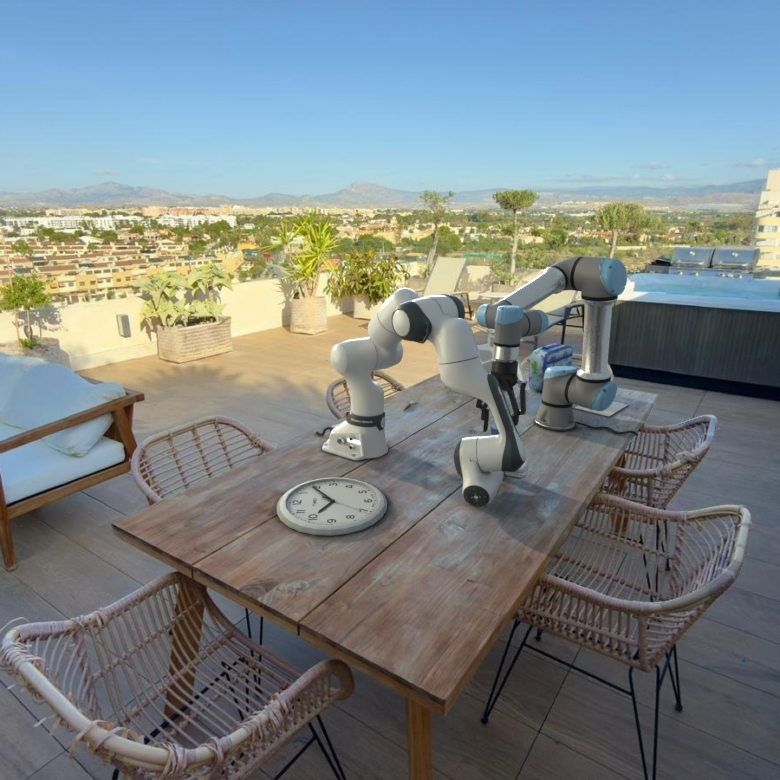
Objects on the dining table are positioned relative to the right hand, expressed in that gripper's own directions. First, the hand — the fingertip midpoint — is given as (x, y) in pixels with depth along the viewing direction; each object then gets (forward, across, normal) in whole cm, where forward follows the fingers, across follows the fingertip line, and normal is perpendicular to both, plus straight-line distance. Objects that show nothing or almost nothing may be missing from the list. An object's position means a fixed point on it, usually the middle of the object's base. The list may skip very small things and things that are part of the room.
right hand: (498, 432), depth 159 cm
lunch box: (+13, -3, -103) cm, 104 cm away
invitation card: (+13, -28, -84) cm, 90 cm away
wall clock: (+15, +36, +38) cm, 54 cm away
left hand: (+7, 0, -1) cm, 8 cm away
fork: (+14, +47, -48) cm, 69 cm away
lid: (-1, 0, 0) cm, 2 cm away
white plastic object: (+13, +25, -81) cm, 86 cm away
